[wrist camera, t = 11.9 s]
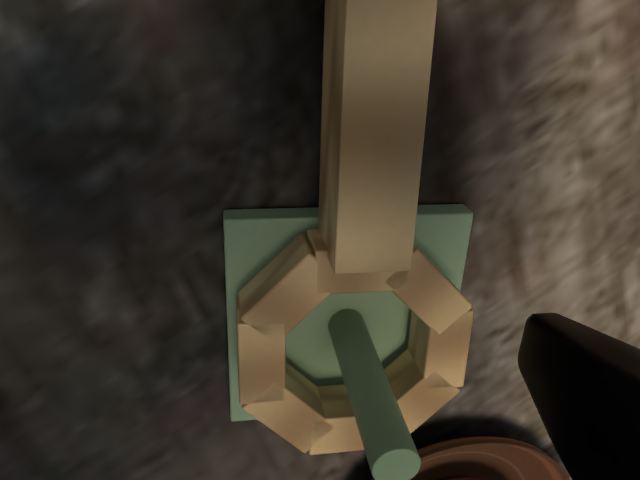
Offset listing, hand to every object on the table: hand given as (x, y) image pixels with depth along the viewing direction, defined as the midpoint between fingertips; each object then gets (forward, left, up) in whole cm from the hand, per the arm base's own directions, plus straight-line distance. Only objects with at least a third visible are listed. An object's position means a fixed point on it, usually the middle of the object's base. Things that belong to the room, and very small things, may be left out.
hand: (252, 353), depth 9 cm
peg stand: (-7, -4, -12) cm, 14 cm away
